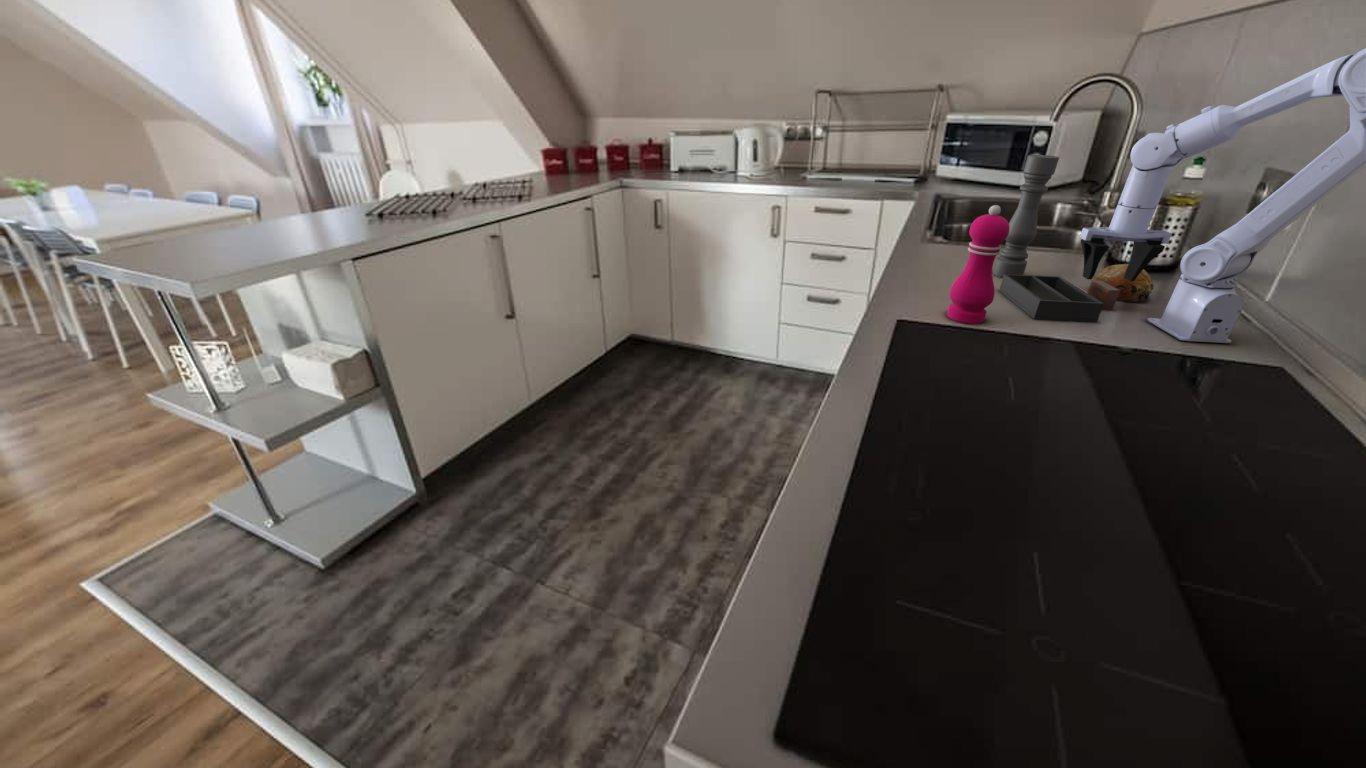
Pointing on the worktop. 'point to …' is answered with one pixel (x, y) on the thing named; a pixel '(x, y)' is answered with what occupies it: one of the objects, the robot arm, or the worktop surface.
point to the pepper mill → (978, 269)
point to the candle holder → (1025, 215)
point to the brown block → (1103, 293)
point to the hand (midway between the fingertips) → (1108, 278)
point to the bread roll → (1127, 283)
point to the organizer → (1050, 298)
